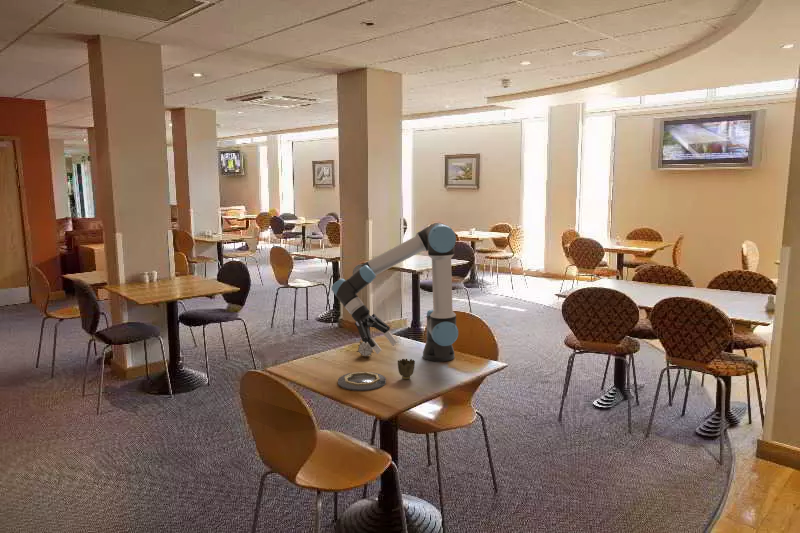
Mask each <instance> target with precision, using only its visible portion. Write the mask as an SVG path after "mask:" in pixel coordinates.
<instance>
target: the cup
mask: <svg viewBox="0 0 800 533" xmlns="http://www.w3.org/2000/svg"><path fill="white" fill-rule="evenodd" d="M415 364H416V360H414V359H412V358H410V359H409V360H408V358H402V359H399V360H397V369H398V373H399V375H400V376H401V378H402V380H404V381H409V380H410V379H411V376H412V375H414V372H415Z"/></svg>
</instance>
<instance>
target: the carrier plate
mask: <svg viewBox="0 0 800 533" xmlns="http://www.w3.org/2000/svg"><path fill="white" fill-rule="evenodd" d="M386 380H387V378H386V377H385V375H383V374H380V373H378V372H372V371H355V372H349V373H348V372H347V373H346V374H343V375H341V376H340V377H339V378H337V384H338V387H340V388H342V389H345V390H348V391H352V392H353V391H354V392H355V391H356V392H367V391H373V390H378V389H380V388H383V387H384V386H385V385H386V383H387V381H386Z"/></svg>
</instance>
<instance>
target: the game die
mask: <svg viewBox="0 0 800 533" xmlns="http://www.w3.org/2000/svg"><path fill="white" fill-rule="evenodd" d="M357 346H358V349H357V350H356V353H358V354H359V353H360V356H363V357H364V359H366V357H368V356H371V357H372V353H374V349H373V348H372V347H371V346H370V345H369V343H368V342H367V343H365V342H363V341H362V342H361V341H359V345H358V344H357Z"/></svg>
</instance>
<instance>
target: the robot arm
mask: <svg viewBox="0 0 800 533" xmlns="http://www.w3.org/2000/svg"><path fill="white" fill-rule="evenodd" d="M456 241H457V237H456V233H455V230H453V228H451V227H450V226H449V225H447V224H444V223H442V222H435V223H431V224H430V225H429V226H427V227H425V228H423V229H422V230H420V231H418V232H416V234H415V235H414V236H413V237H412V238H409V239H408V240H406V241H404V242H402V243H400V244H398V245H395V246H394V247H393V248H390V249H388V250H387V251H384V252H383V253H381V254H379V255H377V256H375V257H373V258H372V259H369V260H368V261H365V262H364V263H362V264H357V265H355V267H354V268H353V270H352V275H351V276H350V277H349V278H347V279H345V278H339V279H337V281H335V282H334V283H333V284H332V285H331V291H332V293H333V294H334V295H335V297H336V299H338V301H339V302H340V303H341V304H342V305H343V307H344V308H345V309H346V311H347V312H348V314H350V315H351V317H352V319H353V320H354V322H355V323H354V325H355V326H356V328H357V330H358V333H359V336H360V338H361V341H362V342H365V343H367V342H368V343H369V345H370V346H371V347H372V348H373V352H375V353H376V355H378V354H380V352H381V351H382V348H381V347H380V345H379V344H378V343H377V342H376V340H375V339H374V338H373V337H371V336H372V335H371V331H370V328H375V329H376V330H377V331H379V332H381V333H383V336H384V337H385V339H387V340H388V342H389V343H390V344H391V345H392V346H395V345H396V344H397V343H398V340H396V338H395V337H394V336H393V334H392V333H391V332H390V329H391V327H390V326H389V325H388V324H387V323H385V321H383V320H381V319H380V318H379V317H378V316H377V315H376V314H375V313H373V314H372V315H370V310H369V308H368V307H367V306H366V305H364V302H363V300H361V298H360V297H359V296H358V295H357V294H359V292H361V291H362V290H363V289H365V287H367V286H368V285H369V284H370V283H372V282H373V281H375V280H374V279H376V277H377V275H379V274H381V273H383V272H386V270H388V269H390V268H391V269H392V268H393V267H395V266H397V265H398V264H400V263H402V262H404V261H406V260H407V259H410V258H412V257H414V256H417V254H420V253H422V252H427V256H428V257H430V259H431V274H432V276H431V278H432V279H431V280H432V281H431V282H432V305H433V306H432V307H433V309H430V310H427V312H426V316H425V317H426V342H425V346H424V347H423V351H422V358H423V359H425V360H426V361H430V362H449V361H453V360H454V359H455V356H456V354H455V351H454V346H453V344H454V343H455V342H456V341H457V339H458V337H459V328H458V326H457V313H455V311H454V310H453V281H452V280H453V278H452V277H453V276H452V258H453V257H454V256H455V245H456Z"/></svg>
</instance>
